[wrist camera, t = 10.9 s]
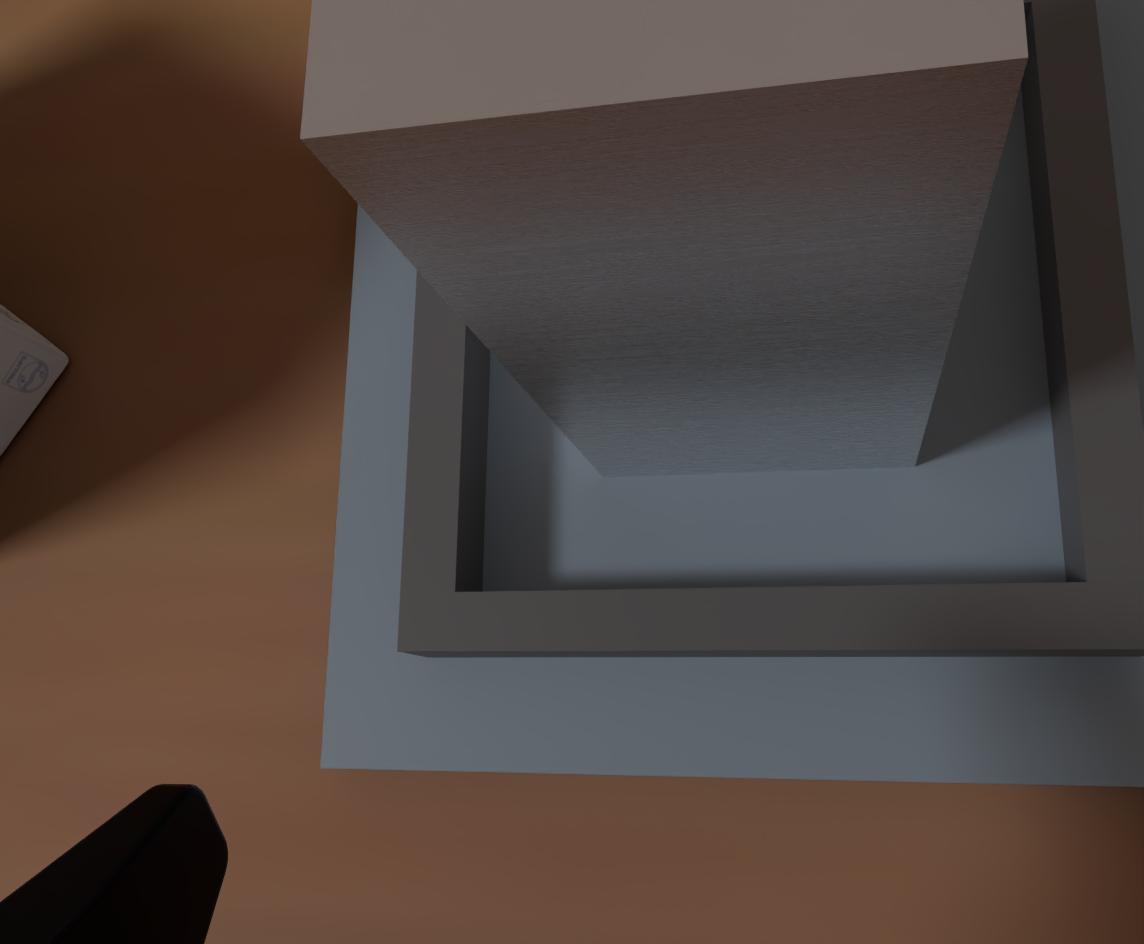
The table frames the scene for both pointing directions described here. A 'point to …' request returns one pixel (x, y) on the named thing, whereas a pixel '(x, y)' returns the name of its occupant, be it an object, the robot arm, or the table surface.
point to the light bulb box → (23, 373)
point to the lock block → (684, 205)
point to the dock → (780, 524)
